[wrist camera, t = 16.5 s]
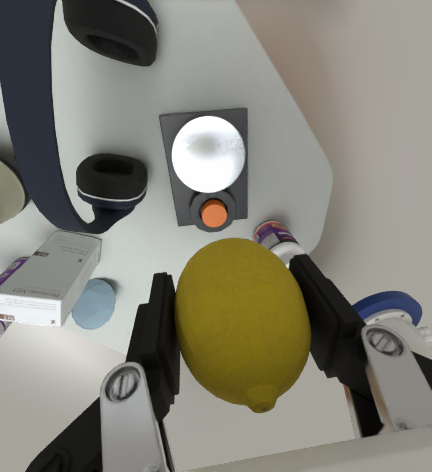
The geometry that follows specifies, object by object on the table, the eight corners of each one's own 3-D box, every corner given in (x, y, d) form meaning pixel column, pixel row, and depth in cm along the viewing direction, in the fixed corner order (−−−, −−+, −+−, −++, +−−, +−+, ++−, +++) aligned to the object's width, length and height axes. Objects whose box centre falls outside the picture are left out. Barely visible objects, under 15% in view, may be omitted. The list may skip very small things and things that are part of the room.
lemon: (221, 301, 16) (250, 459, 9) (157, 257, 13) (125, 427, 6) (287, 251, 14) (385, 394, 7) (227, 190, 12) (288, 318, 5)
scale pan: (244, 112, 24) (245, 112, 24) (244, 187, 29) (245, 189, 28) (165, 119, 24) (165, 119, 23) (177, 195, 28) (177, 196, 28)
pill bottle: (292, 231, 37) (324, 269, 28) (268, 254, 38) (291, 296, 30) (269, 213, 34) (297, 248, 26) (245, 238, 36) (263, 278, 28)
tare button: (224, 197, 30) (226, 203, 28) (225, 220, 31) (227, 226, 30) (199, 200, 29) (200, 205, 28) (202, 222, 31) (203, 228, 29)
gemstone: (129, 323, 38) (112, 327, 33) (87, 328, 39) (64, 333, 34) (128, 277, 40) (111, 275, 35) (88, 283, 41) (66, 282, 36)
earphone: (85, -23, 20) (-252, -449, 5) (164, 4, 22) (114, -252, 6) (94, 191, 30) (-7, 290, 14) (149, 199, 31) (113, 297, 15)
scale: (245, 107, 27) (251, 108, 24) (245, 218, 34) (250, 227, 32) (160, 115, 26) (157, 116, 24) (179, 226, 34) (178, 236, 31)
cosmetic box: (102, 237, 33) (64, 299, 23) (100, 262, 35) (64, 329, 25) (54, 229, 32) (-10, 291, 21) (55, 255, 34) (-3, 323, 23)
